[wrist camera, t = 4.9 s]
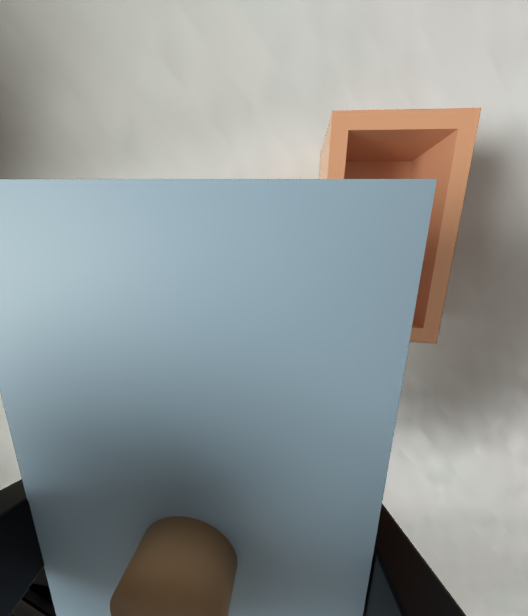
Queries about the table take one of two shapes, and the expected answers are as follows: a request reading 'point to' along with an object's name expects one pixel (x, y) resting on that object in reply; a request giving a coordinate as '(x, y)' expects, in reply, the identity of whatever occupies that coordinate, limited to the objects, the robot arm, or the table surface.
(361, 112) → the orange open box
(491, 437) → the table surface
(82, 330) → the lid
